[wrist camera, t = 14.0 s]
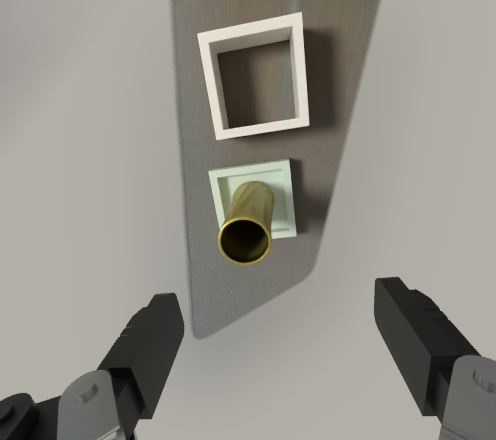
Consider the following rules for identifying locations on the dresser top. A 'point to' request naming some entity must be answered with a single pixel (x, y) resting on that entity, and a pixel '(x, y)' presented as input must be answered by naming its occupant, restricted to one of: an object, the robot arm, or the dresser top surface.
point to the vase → (248, 224)
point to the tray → (267, 173)
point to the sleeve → (249, 37)
